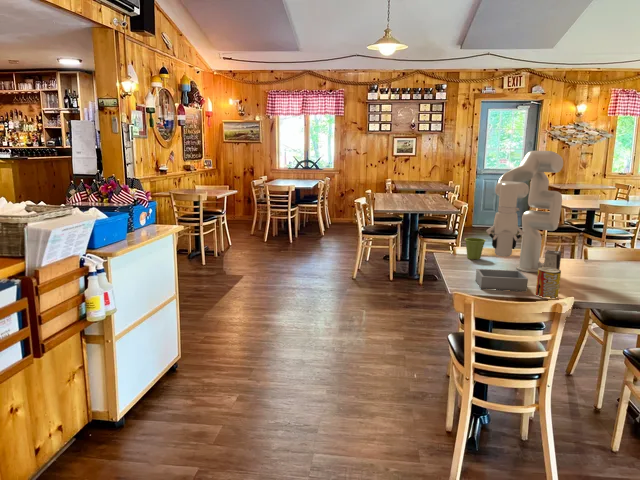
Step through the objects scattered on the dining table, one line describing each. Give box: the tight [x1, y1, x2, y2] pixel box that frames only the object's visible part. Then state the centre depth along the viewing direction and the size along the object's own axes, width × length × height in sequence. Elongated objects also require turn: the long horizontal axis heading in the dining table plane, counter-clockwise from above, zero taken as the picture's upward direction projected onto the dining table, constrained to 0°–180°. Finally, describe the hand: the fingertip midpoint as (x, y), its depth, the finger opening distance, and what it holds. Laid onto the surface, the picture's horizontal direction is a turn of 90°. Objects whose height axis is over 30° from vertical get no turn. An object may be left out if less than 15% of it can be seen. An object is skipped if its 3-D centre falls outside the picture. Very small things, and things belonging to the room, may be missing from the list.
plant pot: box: [463, 237, 487, 261], centre depth 272 cm, size 12×12×11 cm
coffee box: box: [543, 249, 562, 270], centre depth 221 cm, size 9×6×16 cm
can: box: [494, 231, 513, 258], centre depth 216 cm, size 8×8×12 cm
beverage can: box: [535, 267, 562, 298], centre depth 205 cm, size 9×9×12 cm
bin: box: [475, 268, 529, 292], centre depth 219 cm, size 20×14×6 cm
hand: (503, 247), depth 216 cm, fingers closed on can, 7 cm apart
